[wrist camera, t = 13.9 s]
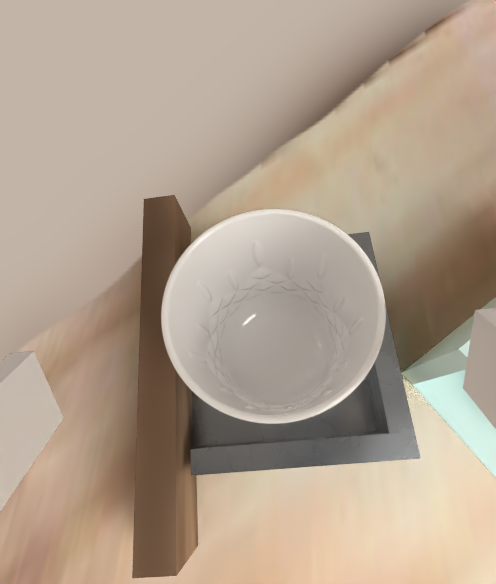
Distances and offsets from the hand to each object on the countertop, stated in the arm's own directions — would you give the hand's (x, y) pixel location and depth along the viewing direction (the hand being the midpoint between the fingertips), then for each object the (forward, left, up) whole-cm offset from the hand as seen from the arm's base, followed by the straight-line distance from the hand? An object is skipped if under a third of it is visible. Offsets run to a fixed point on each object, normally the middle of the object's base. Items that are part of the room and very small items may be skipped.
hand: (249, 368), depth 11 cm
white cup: (-1, -2, -11) cm, 11 cm away
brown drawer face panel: (+6, -2, -12) cm, 13 cm away
